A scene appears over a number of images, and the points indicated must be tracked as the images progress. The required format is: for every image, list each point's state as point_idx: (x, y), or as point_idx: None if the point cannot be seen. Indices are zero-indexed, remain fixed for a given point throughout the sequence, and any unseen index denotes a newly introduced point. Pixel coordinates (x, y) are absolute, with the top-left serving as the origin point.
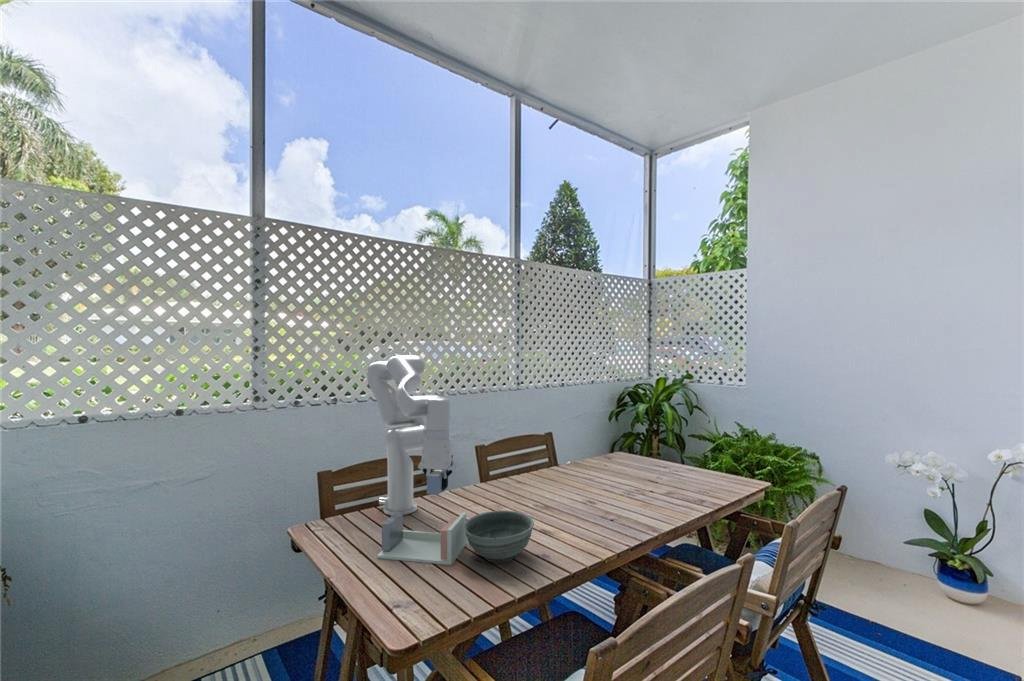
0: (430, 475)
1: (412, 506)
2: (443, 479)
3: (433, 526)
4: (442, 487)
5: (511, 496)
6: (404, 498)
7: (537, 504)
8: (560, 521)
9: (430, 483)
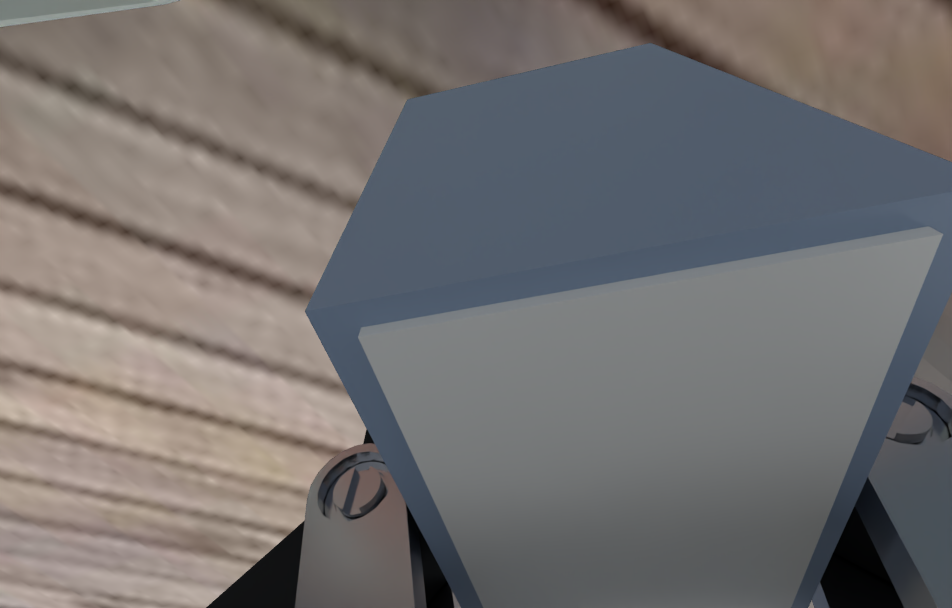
0: (779, 257)
1: None
2: None
3: None
4: None
5: None
6: (934, 348)
7: (258, 551)
8: (25, 467)
9: (634, 118)
